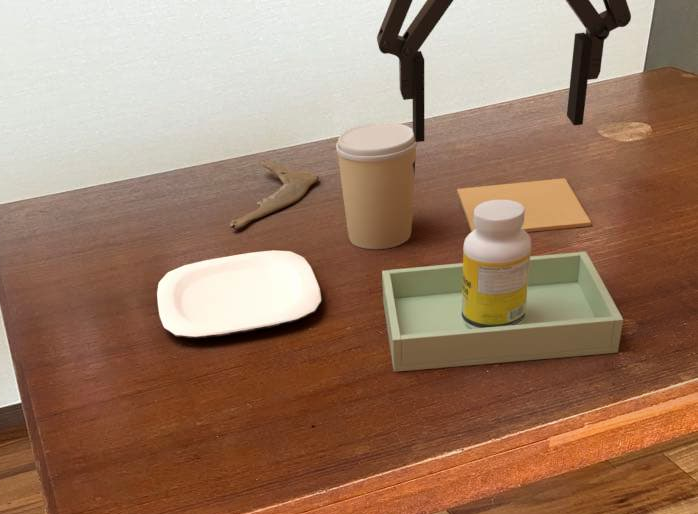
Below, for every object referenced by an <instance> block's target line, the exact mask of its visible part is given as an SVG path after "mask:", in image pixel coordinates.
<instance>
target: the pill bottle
mask: <svg viewBox="0 0 698 514" xmlns="http://www.w3.org/2000/svg"><path fill="white" fill-rule="evenodd" d="M524 212H525V210H524V207H523V205H521V204H520V203H518V202H515V201H511V200H491V201H487V202H484V203H481V204H479V205H478V206H477V207H476V208H475V209H474V226H475V228H476V229H475V230H474V231H472V232H471V231H470V233H468V235H467V236H466V237H465V239H464V242H463V251H462V252H463V253H462V258H463V259H462V263H463V281H462V319H463V321H464V323H465V324H466V325H467V326H468V327H470V328H472V329H476V328H487V327H498V326H510V325H520V324H521V323H522V322H523V320H524V318H525V314H526V301H527V289H528V278H529V267H530V257H532V256H531V254H532V239H531V237H530V234H529V232H526V231H525V230H523V229H522V228H521V227H522V225H523V223H524Z"/></svg>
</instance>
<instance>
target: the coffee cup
mask: <svg viewBox="0 0 698 514" xmlns="http://www.w3.org/2000/svg"><path fill="white" fill-rule="evenodd" d="M417 147H418V142H416V141H415V137H414V134H413V127H411V126H408V125H406V124H402V123H398V122H371V123H365V124H361V125H357V126H354V127H351V128H349V129H346V130H345V131H343V132H342V133H340V135H339V136H338V139H337V142H336V145H335V151H336V153H337V158H338V167H339V173H340V174H339V176H340V182H341V190H342V191H341V192H342V198H343V205H344V213H345V220H346V227H347V228H346V229H347V236H348V239H349V242H350V244H352V245H354V246H355V247H357V248H361V249H365V250H386V249H391V248H394V247H398V246H401V245H402V244H404V243H405V242H407V241H408V240H409V239H410V237H411V234H412V225H413V212H414V210H413V209H414V195H415V175H416V157H417V156H416V154H417Z"/></svg>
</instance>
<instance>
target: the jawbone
mask: <svg viewBox="0 0 698 514" xmlns="http://www.w3.org/2000/svg"><path fill="white" fill-rule="evenodd" d="M260 165H261V166H262V167H264V168H265V169H267V170H269V171H270V172H271V173H273V174H274V175H276V176H277V177H278V179H279V180H280V182H281V183H282V185H281V186H280V187H279V188H278V190H276V191H275V192H273V194H272V195H268V197H263V199H262V200H260V201H257V203H256V205H257V206H259V207H258V208H257V209H256V210H254V211H251V212H250V213H248V214H245V215H243V216H242V217H239V218H236V219H232V220H231V221H230V223H229V227H230V228H231V229H233V230H238V229H239V228H245V227H246V226H247V225H248V224H250V223H251V222H253V221H254V220H258V219H261V218H263V217H265V216H267V215H270V214H272V213H274V212H277V211H279V210H282V209H284V208H286V207H289V206H290V205H293V204H295V203H297V202H298V201H300V200H301V199H302V198H303V197H304V196H305V195H306V194H307V192H308V190H309V189H310V188H311V186H312V185H313V184H315V183H316V182H318V181H319V175H318V174H316V173H314V172H312V171H308V170H296V169H295V170H294V169H289V168H286V167H284V166H283V165H282V164H281V163H280V162H278V163H277V165H275V164H274V163H271V162H270V161H266V160H265V159H263V160H262V161H260Z"/></svg>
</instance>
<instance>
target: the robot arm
mask: <svg viewBox="0 0 698 514" xmlns="http://www.w3.org/2000/svg"><path fill="white" fill-rule="evenodd" d="M413 1H414V0H390V2H389V5H388V7H387V10H386V12H385V16H384V17H383V20H382V23H381V26H380V28H379V31H378V32H377V35H376V42H377V46H378V49H379V51H380V53H381V54H384V55H387V54H388V55H389V54H390V55H393V56H396V57H397V59H398V74H399V80H398V81H399V93H400V95H401V97H402V99H403V101H407V100H412V129H413V134H414V137H415V141H416V142H417V143H422V142H425V57H424V55H423V52H422V50H420V49H421V48H422V46H423V44H424V43H425V42H426V40H427V39H428V37H429V36H430V34H431V33H432V31H433V30H434V29H435V27H436V26H437V24H438V23H439V22H440V20H441V19H442V18H443V16H444V15H445V14H446V12H447V10H448V9H449V7H450V6H451V5H452V4H453V2H454V0H426V1H425V2H424V4H423V5H422V6H421V8H420V10H419V11H418V13H417V14H416V16H415V17H414V18H413V20H412V22H411V23H410V25H409V26H408V27H407V28H406V30H405V32H404V33H403V35H399V34H400V33H401V29H402V28H403V25H404V23H405V20H406V17H407V16H408V12H409V10H410V8H411V5H412V3H413ZM565 2H566V3H567V4H568V6H569V7H570V8H571V11H573V13H574V14H575V16H576V17H577V19H578V20H579V22H581V24H582V25H583V27H584V28H585V32H575V33H574V38H573V39H574V40H573V50H572V59H571V69H570V70H571V71H570V79H569V80H570V81H569V89H568V98H567V109H566V116H567V118H568V119H569V121H570V122H571V124H572V125H573V126H583V123H584V115H585V107H586V98H587V92H588V91H587V90H588V82H589V81H591V80H598V78H599V75H600V73H601V70H602V61H603V60H602V59H603V52H604V43H605V40H607V39H608V37H609V35H610V33H611V32H612V31H614V30H616V29H618V28H624V27H627V26H628V25H629V24H630V22H631V19H632V14H631V11H630V7H629V4H628V1H627V0H602V2H603V5H604V8H605V10H603V11H601V12H600V13H599V12H598V11H597V9H596V8H595V6H594V5H593V4H592V2H591V1H590V0H565Z"/></svg>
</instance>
